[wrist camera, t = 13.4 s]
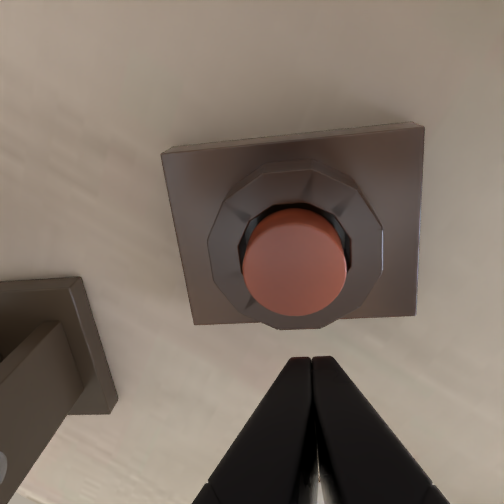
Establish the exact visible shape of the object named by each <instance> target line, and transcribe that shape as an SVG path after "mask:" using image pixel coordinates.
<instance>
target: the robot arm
mask: <svg viewBox="0 0 504 504" xmlns="http://www.w3.org/2000/svg"><path fill="white" fill-rule="evenodd" d="M317 451H318V452H317ZM318 463H319V474H320V481H321V488H322V494H323V499H324V504H450V503H449V502H448V501H447V499H446V498H445V497H444V495H443V494H442V493H441V492H440V490H439V489H438V488H437V487H436V486H435V485H432V481H431V479H430V478H429V477H428V476H427V474H426V473H425V472H424V471H423V469H422V468H421V467H420V466H419V464H418V463H417V462H416V461H415V459H414V458H413V457H412V456H411V454H410V453H409V452H408V451H407V449H406V448H405V447H404V446H403V444H402V443H401V442H400V440H399V439H398V438H397V437H396V435H395V434H394V433H393V432H392V430H391V429H390V428H389V427H388V425H387V424H386V423H385V422H384V420H383V419H382V418H381V417H380V415H379V414H378V413H377V412H376V410H375V409H374V408H373V407H372V405H371V404H370V403H369V402H368V400H367V399H366V398H365V397H364V395H363V394H362V393H361V392H360V390H359V389H358V388H357V386H356V385H355V384H354V383H353V381H352V380H351V379H350V378H349V376H348V375H347V374H346V373H345V371H344V370H343V369H342V368H341V366H340V365H339V364H338V363H337V361H336V360H335V359H334V358H333V357H332V356H317V357H313V358H312V362H311V359H310V358H309V357H292V358H290V359H289V360H288V362H287V363H286V365H285V366H284V368H283V369H282V371H281V372H280V374H279V375H278V377H277V378H276V380H275V381H274V383H273V384H272V386H271V387H270V389H269V390H268V392H267V393H266V395H265V396H264V398H263V399H262V401H261V402H260V403H259V405H258V406H257V408H256V409H255V411H254V412H253V414H252V415H251V417H250V418H249V420H248V421H247V423H246V424H245V426H244V427H243V429H242V430H241V432H240V433H239V435H238V436H237V438H236V439H235V441H234V442H233V444H232V445H231V446H230V448H229V449H228V451H227V452H226V454H225V455H224V457H223V458H222V460H221V461H220V463H219V464H218V466H217V467H216V469H215V470H214V472H213V473H212V475H211V476H210V478H209V479H208V483H206V484H205V485H204V486H203V488H202V489H201V491H200V492H199V494H198V495H197V497H196V498H195V500H194V501H193V503H192V504H317V497H318Z"/></svg>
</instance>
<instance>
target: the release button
mask: <svg viewBox="0 0 504 504" xmlns="http://www.w3.org/2000/svg"><path fill="white" fill-rule="evenodd" d="M242 271H243V278H244V282H245V284H246V287H247V289H248V291H249V292H250V294H251V295H252V296H253V298H254V299H255V300H256V301H257V302H258V303H260V304H261V305H262V306H263V307H265V308H267V309H268V310H270V311H272V312H275V313H278V314H282V315H287V316H303V315H308V314H312V313H315V312H317V311H319V310H322V309H323V308H325V307H326V306H328V305H329V304H330V303H331V302H333V300H334V299H335V298H336V297H337V296H338V294H339V293H340V292H341V290H342V288H343V286H344V283H345V279H346V274H347V266H346V260H345V256H344V252H343V248H342V244H341V240H340V237H339V235H338V233H337V231H336V229H335V228H334V226H333V225H332V224H331V223H330V222H329V221H328V220H327V219H326V218H324V217H323V216H321V215H320V214H318V213H316V212H313V211H311V210H307V209H301V208H288V209H282V210H279V211H276V212H274V213H272V214H270V215H268V216H266V217H265V218H264V219H263V220H261V221H260V222H259V223H258V224H257V226H256V227H255V228H254V230H253V232H252V234H251V236H250V238H249V241H248V245H247V248H246V252H245V255H244V259H243V266H242Z"/></svg>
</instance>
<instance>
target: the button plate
mask: <svg viewBox="0 0 504 504" xmlns="http://www.w3.org/2000/svg"><path fill="white" fill-rule="evenodd" d="M424 133H425V128H424V126H421V125H419V124H416V123H414V122H405V123H395V124H385V125H376V126H366V127H357V128H347V129H338V130H328V131H318V132H309V133H299V134H290V135H280V136H271V137H261V138H251V139H242V140H232V141H223V142H213V143H204V144H194V145H184V146H175V147H171V148H170V149H168V150H166V151H165V152H163V153H161V160H162V165H163V170H164V176H165V181H166V186H167V191H168V196H169V201H170V206H171V211H172V216H173V221H174V226H175V231H176V236H177V241H178V246H179V251H180V256H181V261H182V266H183V271H184V276H185V281H186V286H187V292H188V297H189V302H190V307H191V312H192V317H193V322H194V325H211V324H235V323H258V322H261V323H264V324H266V325H268V326H271V327H273V328H275V329H279V330H296V329H320V328H322V327H325V326H327V325H328V324H330V323H332V322H334V321H336V320H338V319H353V318H377V317H401V316H416V309H417V287H418V265H419V243H420V221H421V199H422V177H423V155H424ZM288 208H301V209H307V210H311V211H313V212H316V213H318V214H320V215H321V216H323V217H324V218H326V219H327V220H328V221H329V222H330V223H331V224H332V225H333V226H334V228H335V229H336V231H337V233H338V235H339V237H340V240H341V244H342V248H343V252H344V256H345V260H346V266H347V274H346V279H345V283H344V286H343V288H342V290H341V292H340V293H339V294H338V296H337V297H336V298H335V299H334V300H333V302H331V303H330V304H329V305H328V306H326V307H325V308H323V309H322V310H319V311H317V312H315V313H312V314H308V315H303V316H287V315H282V314H278V313H275V312H272V311H270V310H268V309H267V308H265V307H263V306H262V305H261V304H260V303H258V302H257V301H256V300H255V299H254V298H253V296H252V295H251V294H250V292H249V291H248V289H247V287H246V284H245V282H244V278H243V271H242V266H243V259H244V255H245V252H246V248H247V245H248V241H249V238H250V236H251V234H252V232H253V230H254V228H255V227H256V226H257V224H258V223H259V222H260V221H261V220H263V219H264V218H265V217H266V216H268V215H270V214H272V213H274V212H276V211H279V210H282V209H288Z"/></svg>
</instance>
